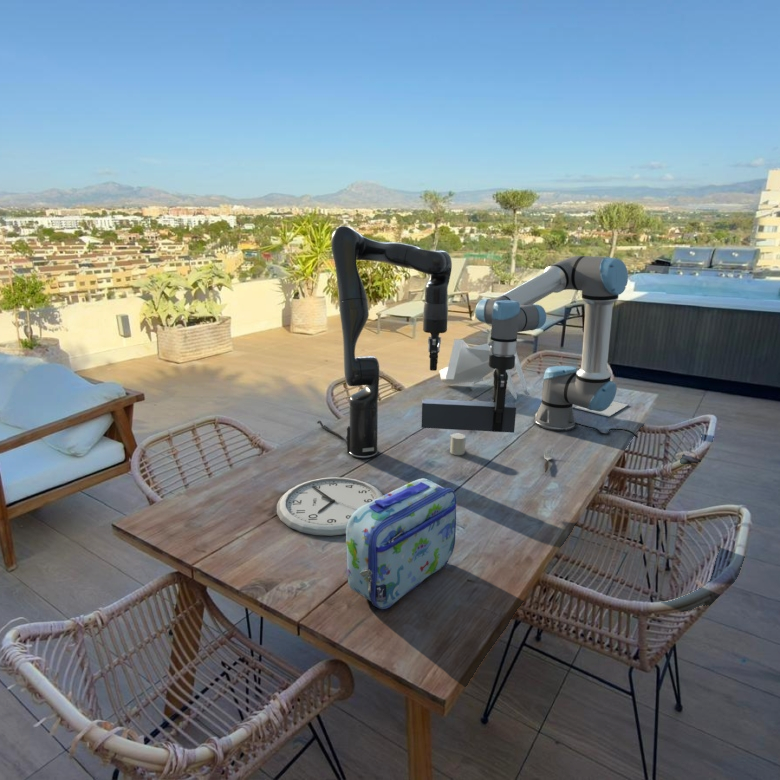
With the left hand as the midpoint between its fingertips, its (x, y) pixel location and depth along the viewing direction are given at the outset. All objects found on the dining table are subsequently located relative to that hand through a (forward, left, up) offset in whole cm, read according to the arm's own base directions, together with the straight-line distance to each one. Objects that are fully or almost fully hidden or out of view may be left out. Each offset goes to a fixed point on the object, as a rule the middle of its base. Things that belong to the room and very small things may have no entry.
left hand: (433, 367), depth 168 cm
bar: (+15, -5, -16) cm, 22 cm away
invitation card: (+41, +84, -30) cm, 98 cm away
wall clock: (-7, -46, -30) cm, 55 cm away
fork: (+36, +13, -30) cm, 49 cm away
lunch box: (+25, -63, -30) cm, 74 cm away
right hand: (+23, -2, -16) cm, 28 cm away
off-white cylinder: (+8, +6, -30) cm, 32 cm away
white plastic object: (-11, +74, -30) cm, 80 cm away
